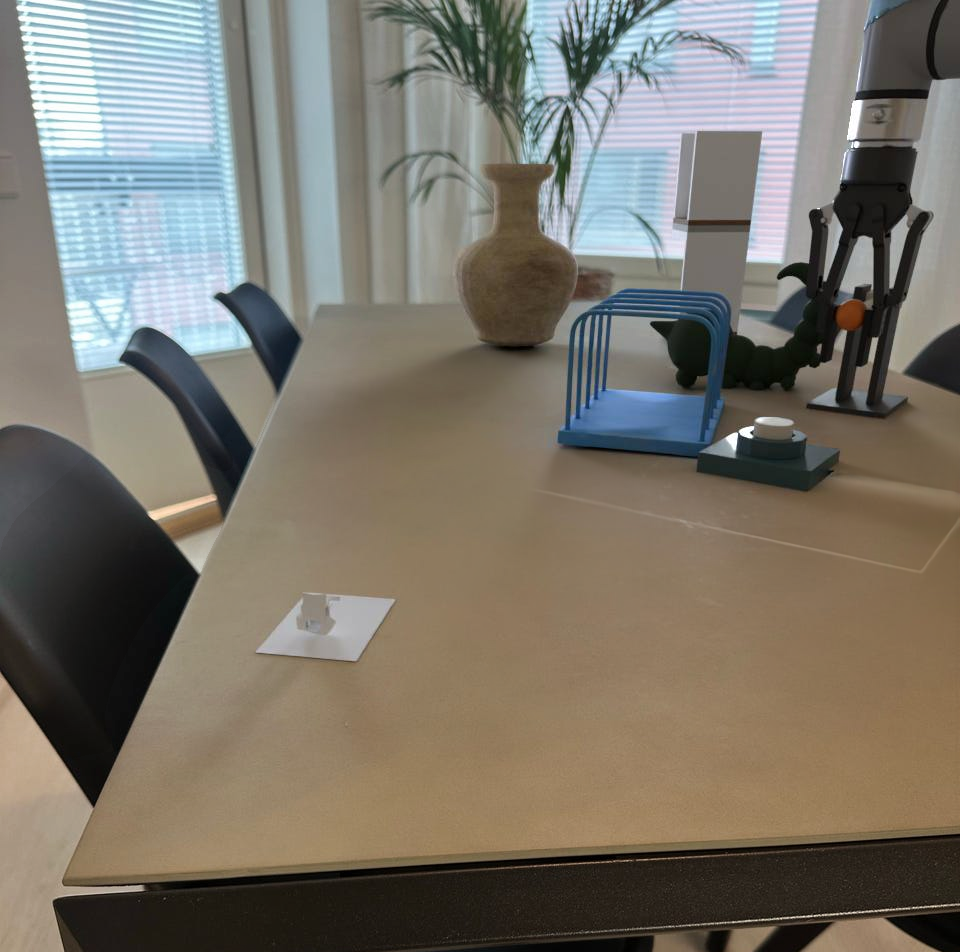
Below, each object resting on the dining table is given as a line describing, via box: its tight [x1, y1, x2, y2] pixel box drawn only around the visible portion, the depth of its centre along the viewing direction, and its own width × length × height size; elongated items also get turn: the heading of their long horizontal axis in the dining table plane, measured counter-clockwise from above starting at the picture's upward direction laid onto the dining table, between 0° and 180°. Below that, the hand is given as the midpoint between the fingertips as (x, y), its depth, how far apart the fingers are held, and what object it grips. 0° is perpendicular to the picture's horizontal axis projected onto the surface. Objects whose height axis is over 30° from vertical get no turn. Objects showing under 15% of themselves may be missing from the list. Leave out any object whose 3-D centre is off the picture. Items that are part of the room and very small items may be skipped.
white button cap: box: [753, 416, 795, 440], centre depth 96 cm, size 4×4×2 cm
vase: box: [452, 163, 579, 347], centre depth 163 cm, size 22×22×30 cm
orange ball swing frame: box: [805, 283, 909, 420], centre depth 119 cm, size 12×10×16 cm
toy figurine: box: [649, 261, 839, 392], centre depth 131 cm, size 9×19×25 cm
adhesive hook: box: [295, 592, 341, 636], centre depth 63 cm, size 3×3×3 cm
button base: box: [696, 425, 841, 493], centre depth 97 cm, size 12×10×4 cm
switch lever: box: [835, 289, 873, 332], centre depth 113 cm, size 14×4×4 cm, turn 144°
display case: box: [671, 130, 763, 335], centre depth 169 cm, size 11×11×35 cm
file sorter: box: [556, 287, 731, 458], centre depth 111 cm, size 25×17×15 cm
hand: (843, 362), depth 111 cm, fingers closed on switch lever, 4 cm apart
